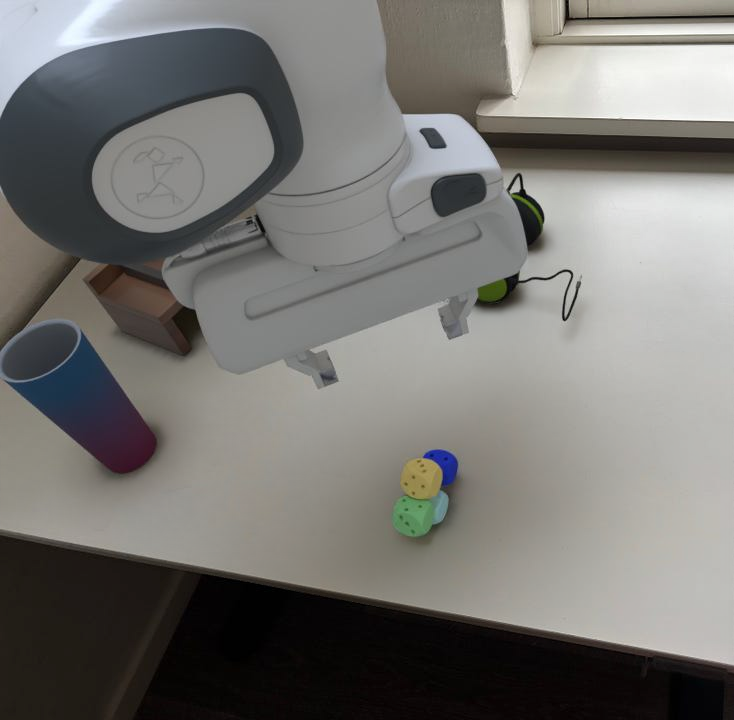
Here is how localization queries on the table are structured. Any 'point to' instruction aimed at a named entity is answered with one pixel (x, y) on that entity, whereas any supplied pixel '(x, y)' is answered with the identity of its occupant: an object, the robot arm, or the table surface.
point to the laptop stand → (139, 302)
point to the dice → (424, 492)
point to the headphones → (533, 229)
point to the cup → (77, 393)
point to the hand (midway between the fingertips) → (392, 354)
